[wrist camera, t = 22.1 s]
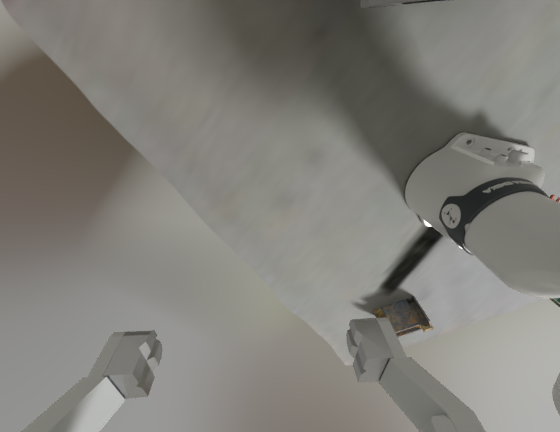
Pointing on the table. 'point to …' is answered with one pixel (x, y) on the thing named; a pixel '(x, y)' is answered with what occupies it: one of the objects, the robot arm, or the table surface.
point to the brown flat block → (405, 317)
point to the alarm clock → (393, 2)
